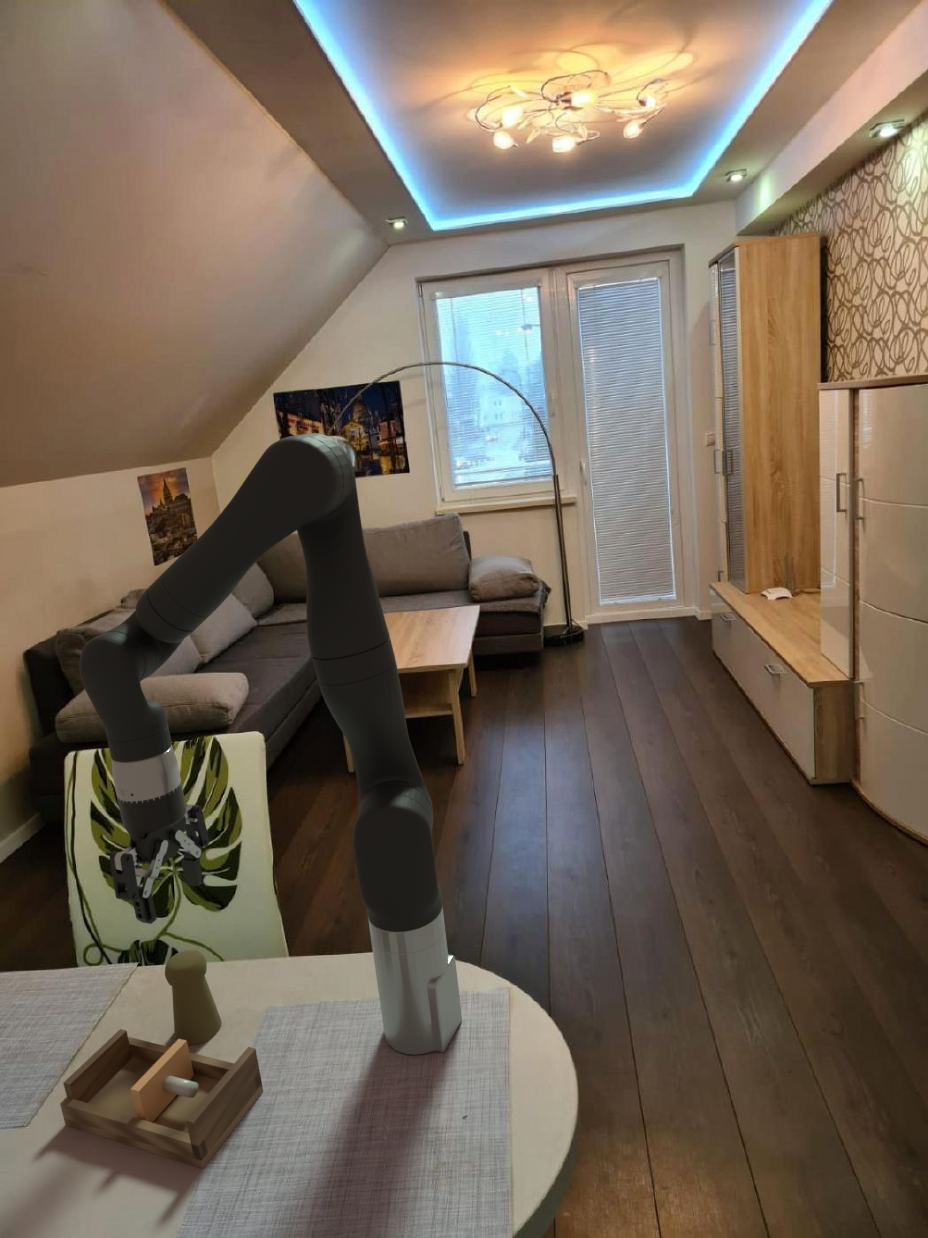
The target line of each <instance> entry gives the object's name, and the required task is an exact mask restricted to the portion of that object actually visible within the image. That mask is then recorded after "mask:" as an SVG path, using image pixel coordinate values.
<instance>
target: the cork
mask: <svg viewBox="0 0 928 1238" xmlns="http://www.w3.org/2000/svg"><path fill="white" fill-rule="evenodd" d="M207 965H208V963H207V959H206V957H205V956H204V954H203V953H202V952H200V951H199V950H197V949H187V950H186V949H185V950H183V951H182V950H181V951H180V952H177V953H176V954H174V955H173V956H171V957H170V958H169V959H168V960H167V963H166V964H165V967H164V976H165V979H166V981H167V983H168V985H170V986H171V989H172V990H171V991H172V992H171V993H172V1011H173V1012H172V1013H173V1028H174V1029H173V1030H174V1040H175V1042H176V1041H177V1040H178V1039H182V1040H186V1041H187V1044H188V1047H189V1046H191V1047H192V1046H193V1047H194V1046H198V1045H201V1044H203V1043H205V1042H208V1041H210V1040H211V1039H212V1038H213V1037H215V1036H216V1034H218V1033H219V1032H220V1029H221V1028H222V1018H221V1016H220V1013H219V1011H218V1007H217V1005H216V1002H215V1000H214V997H213V994H212V991H211V989H210V986H209V984H208V983H209V982H208V980H207V978H206V976H205V975H206V974H207V967H208V966H207Z"/></svg>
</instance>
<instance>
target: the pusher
mask: <svg viewBox="0 0 928 1238" xmlns="http://www.w3.org/2000/svg"><path fill="white" fill-rule="evenodd" d="M169 1047H170V1048H169V1049H168V1050H167V1051H166V1053H165V1054H164V1055H163V1056H162V1057H161V1058H160V1059H159V1060H158V1061H157V1062H156V1063H155V1064H154V1065H153V1066H152V1067H151V1068H150V1069H149V1070H148V1071H147V1072H146V1073H145V1074H144V1075H143V1076H142V1077H141V1079H140V1080H139V1081H138V1082H137V1083H136V1084H135V1085H134V1086H133V1087H132V1088H131V1094H132V1098H133V1102H134V1107H135V1111H136V1115H137V1118H138V1119H142V1120H145V1121H148V1122H153V1121H154V1120H155V1119H156V1118H157V1117H158V1116H159V1114H160V1113H161V1112H162V1111H163V1110H164V1109H165V1108H166V1107H167V1105H168V1104H169V1103H170V1102H171V1101H172V1100H173V1099H174V1098H175V1096H176V1095H177V1094H178V1095H182V1096H185V1097H189V1098H193V1097H195V1095H196V1094H197V1092H198V1083H196V1082H193V1081H190V1080H191V1078H192V1077H193V1076H194V1073H193V1068H192V1063H191V1058H190V1054H189V1052H190V1049H189V1046H188V1044H187V1041H186V1040H182V1039H178V1040H177V1041H176V1040H175V1042H174V1043H173V1044H172V1045H171V1046H169Z"/></svg>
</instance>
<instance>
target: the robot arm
mask: <svg viewBox="0 0 928 1238" xmlns="http://www.w3.org/2000/svg"><path fill="white" fill-rule="evenodd" d="M356 480H357V479H356V474H355V469H354V465H353V463H352V461H351V458H350V456H349V454H348V452H347V451H346V450H345V448H344V447H343V446H342V445H341V444H340V443H339V442H338V441H336V440H335V439H333V437H330V436H329V435H328V436H327V435H326V434H322V433H316V432H311V433H310V432H309V433H302V434H297V435H291V436H286V437H283V438H280V439H279V440H276V441H275V442H273V443H271V444H270V445H269V446H268V447H267V448H266V449H265V451H264V452H263V453H262V455H261V456H260V457H259V459H258V461H257V462H256V463H255V465H254V467H253V468H252V469H251V471H250V472H249V474H248V475H247V477H246V478H245V480H244V481H243V482H242V484H241V486H239V488H238V489H237V491H236V493H235V494H234V496H233V497H232V498H231V500H229V502H228V503H227V505H226V506H225V508H224V509H223V510H222V511H221V513H220V514H219V515H218V516H217V518H216V519H215V520H214V521H213V522H212V523H211V525H210V526H208V528H207V529H206V530H204V532H203V533H202V534H200V536H199V537H197V539H196V540H195V541H194V542H193V543H192V544H190V546H188V548H187V549H186V550H185V551H184V552H183V553H181V555H180V556H179V557H177V559H175V561H174V562H172V563H171V565H169V566H168V567H167V569H165V570H164V571H163V572H162V573H161V574H160V575H159V576H158V578H157V579H155V580H154V582H152V584H150V586H148V587H147V588H146V590H145V591H144V592H143V593H142V594H141V596H140V597H139V598H138V600H137V603H136V606H135V610H134V611H133V613H131V614H130V615H129V617H127V618H126V619H125V620H124V621H123V622H121V623H120V624H119V625H116V627H113V628H112V629H110V630H107V631H105V632H103V633H101V634H98V635H97V636H95V637H92V638H91V639H90V640H89V641H88V642H86V644H85V645H84V647H83V648H82V650H81V652H80V655H79V662H78V663H79V666H78V668H79V669H78V671H79V675H80V679H81V680H80V681H81V683H82V686H83V687H84V690H85V692H86V694H87V696H88V697H89V700H90V702H91V704H92V706H93V708H94V711H95V712H96V714H97V716H98V717H99V719H100V721H101V722H102V724H103V726H104V729H105V733H106V735H105V736H106V740H107V743H108V749H109V754H110V759H111V771H112V773H111V774H112V779H113V785H114V789H115V794H116V798H117V803H118V807H119V814H120V819H121V821H122V822H121V823H122V826H123V828H124V830H126V832H127V833H128V835H129V844H128V847H126V848H125V849H124V850H122V851H115V850H114V851H112V852H110V854H109V863H110V869H111V875H112V881H113V888H114V893H115V894H114V895H115V898H116V899H117V900H121V901H128V902H132V906H133V909H134V910H133V911H134V913H135V918H136V920H137V921H140V923H143V924H150V925H152V924H153V923H154V922H155V921H157V914H156V908H155V904H154V899H153V894H151V892H152V888H153V884H154V881H155V879H157V878H158V876H159V873H160V871H161V867H162V866H164V865H165V864H166V863H168V861H169V859H172V858H174V857H176V856H177V855H178V854H179V855H180V856H182V858H180V862H181V867H182V872H183V877H184V882H185V884H186V885H188V886H192V887H199V886H200V885H201V884H202V883H203V879H202V878H203V871H202V867H201V866H202V865H201V860H200V857H201V855H202V850H203V849H204V848H206V847H209V844H210V838H209V833H208V829H207V825H206V820H205V817H204V816H205V815H204V812H203V807H202V806H201V805H196V804H187V803H186V800H185V796H184V789H183V784H182V779H181V774H180V769H179V768H180V767H179V763H178V758H177V756H176V753H175V751H174V748H173V744H172V739H171V738H172V737H171V734H170V733H171V732H170V728H169V722H168V718H167V713H166V711H165V708H164V706H163V705H162V703H160V702H159V701H157V700H155V699H151V698H150V699H149V698H146V696H145V694H144V691H143V688H142V684H141V682H142V681H143V680H146V679H147V678H149V677H150V676H152V675H153V674H154V673H155V672H156V671H158V670H159V669H160V668H161V667H162V666H163V665H164V664H165V663H166V662H167V661H168V660H169V659H170V658H171V657H172V655H173V654H174V653H175V652H176V651H177V649H178V648H179V647H180V645H181V644H182V643H183V641H184V640H185V639H186V638H187V637H189V636H190V635H191V634H192V633H193V632H194V631H195V630H196V629H198V628H199V627H200V625H202V624H203V623H204V622H205V621H206V620H207V619H208V618H209V617H210V616H211V615H213V613H214V612H215V611H216V610H217V609H218V608H219V607H220V606H221V605H222V604H223V603H224V601H226V600H227V598H228V597H229V596H230V595H231V593H232V592H233V591H234V589H236V587H237V586H238V584H239V583H241V581H242V579H243V578H244V576H245V575H246V574H247V573H248V571H250V570H251V568H252V567H253V566H254V565H255V564H256V562H258V561H259V560H260V559H261V558H262V557H263V556H264V555H265V554H266V553H268V551H270V550H271V549H272V548H273V547H275V546H276V545H277V544H279V543H280V542H281V541H283V540H284V539H285V538H287V537H289V536H291V535H292V534H293V533H295V532H296V533H297V534H298V535H297V536H298V538H299V542H300V546H301V549H302V552H303V557H304V563H305V564H304V565H305V572H306V609H305V610H306V631H307V632H306V633H307V641H308V648H309V652H310V655H311V660H312V663H313V667H314V672H315V675H316V679H317V683H318V686H319V688H320V692H321V694H322V697H323V701H324V702H325V704H326V706H327V708H328V710H329V712H330V714H331V715H332V718H333V719H334V720H335V722H336V725H337V726H338V728H339V729H340V730H341V733H342V734H343V735H344V737H345V739H346V741H347V744H348V746H349V749H350V752H351V756H352V761H353V765H354V769H355V774H356V775H355V776H356V781H357V788H358V796H359V805H358V806H359V807H358V812H357V814H356V819H355V824H354V827H353V831H352V845H353V852H354V853H353V855H354V860H355V861H354V862H355V866H356V873H357V878H358V884H359V890H360V896H361V900H362V902H363V904H364V906H365V908H366V912H367V919H368V925H369V933H370V942H371V949H372V953H373V954H372V956H373V961H374V962H373V963H374V968H375V969H374V970H375V977H376V983H377V991H378V997H379V1004H380V1011H381V1017H382V1018H381V1020H382V1025H383V1032H384V1033H383V1034H384V1038H385V1041H386V1043H387V1044H388V1045H389V1046H390V1048H392V1049H394V1050H395V1051H396V1052H400V1054H401V1053H402V1054H406V1055H416V1056H417V1055H422V1054H427V1053H431V1052H441V1053H444V1052H445V1051H446V1049H447V1048H448V1045H449V1044H450V1043H451V1040H452V1038H453V1036H454V1035H455V1033H456V1031H457V1029H458V1028H459V1026H460V1023H461V1022H462V1020H463V1016H462V1006H461V997H460V996H461V995H460V988H459V980H458V971H457V963H456V956H454V954H449V951H448V944H447V934H446V925H445V917H444V909H443V899H442V898H443V897H442V889H441V886H440V883H439V882H438V876H437V875H438V873H437V868H436V861H435V859H436V858H435V851H434V850H435V849H434V843H433V842H434V840H433V828H434V827H433V825H434V808H433V802H432V800H431V799H432V798H431V796H430V793H429V791H428V788H427V785H426V784H425V781H424V778H423V776H422V773H421V770H420V767H419V764H418V761H417V758H416V755H415V753H414V749H413V747H412V743H411V740H410V736H409V731H408V726H407V718H406V712H405V711H406V710H405V704H404V696H403V691H402V687H401V680H400V677H399V671H398V665H397V661H396V656H395V652H394V649H393V644H392V639H391V635H390V631H389V629H388V626H387V623H386V618H385V615H384V611H383V607H382V603H381V599H380V594H379V591H378V588H377V587H378V586H377V583H376V581H375V578H374V574H373V571H372V567H371V565H370V561H369V558H368V554H367V548H366V545H365V539H364V535H363V534H364V533H363V526H362V525H363V524H362V519H361V512H360V510H361V509H360V504H359V496H358V488H357V482H356ZM185 833H186V834H185ZM197 835H198V836H197ZM143 864H144V865H147V866H149V869H143V867H142V866H143ZM142 878H143V881H142ZM141 881H142V884H141ZM140 884H141V886H140Z"/></svg>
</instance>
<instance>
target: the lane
mask: <svg viewBox="0 0 928 1238" xmlns="http://www.w3.org/2000/svg"><path fill="white" fill-rule="evenodd" d="M170 1047H171V1046H167V1045H162V1044H158V1043H155V1042H151V1041H146V1040H143V1039H139V1038H135V1037H132V1036H129V1035H128V1031H127V1029H126V1030H125V1029H121V1028H120V1029H119V1030H118V1031H117V1032H116V1033H114V1034H113V1035H112V1036H111V1037H110V1038H109V1039H108V1040H107V1041H106V1042H105V1043H103V1045H102V1046H101V1047H99V1048H98V1050H96V1051H95V1052H94V1053H93V1054H92V1055H91V1056H90V1057H88V1059H87V1060H86V1061H84V1063H83V1064H82V1065H80V1067H78V1068H77V1069H76V1070H75V1071H74V1072H72V1074H70V1076H68V1078H66V1079H65V1080H64V1081H63V1087H64V1091H65V1096H66V1097H65V1098H64V1099H63V1100H62V1101H61V1102H60V1103H59V1105H60V1109H61V1113H62V1116H63V1121H64V1124H65V1126H68V1127H71V1128H73V1129H77V1130H80V1131H84V1132H87V1133H89V1134H93V1135H96V1136H99V1137H102V1138H105V1139H108V1140H112V1141H115V1142H119V1143H121V1144H124V1145H127V1146H131V1147H134V1148H137V1149H140V1150H143V1151H145V1152H149V1153H151V1154H152V1153H153V1154H155V1155H158V1156H162V1157H165V1158H168V1159H172V1160H175V1161H178V1162H180V1163H184V1164H187V1165H190V1166H194V1167H197V1168H199V1169H204V1168H205V1167H206V1166H207V1165H208V1163H209V1162H210V1161H211V1159H212V1158H213V1157H214V1156H215V1154H216V1153H217V1152H218V1151H219V1150H220V1148H221V1147H222V1145H223V1144H224V1142H225V1141H226V1140H227V1138H228V1137H229V1136H230V1134H232V1132H233V1131H234V1130H235V1128H236V1127H237V1126H238V1124H239V1123H240V1122H241V1121H242V1119H244V1117H245V1116H246V1114H247V1113H248V1112H249V1110H250V1109H251V1107H252V1106H253V1105H254V1103H255V1102H256V1101H257V1100H258V1098H259V1097H260V1095H262V1093H264V1087H263V1083H262V1081H263V1080H262V1076H261V1072H260V1067H259V1060H258V1055H257V1050H256V1048H255V1047H251V1046H247V1048H246V1049H245V1050H244V1051H243V1052H242V1053H241V1055H240V1056H239V1057H238V1058H237V1060H236V1061H235V1062H231V1061H230V1062H229V1061H225V1060H222V1059H218V1058H214V1057H210V1056H206V1055H202V1054H198V1053H193V1052H192V1051H189V1054H190V1058H191V1063H192V1068H193V1073H194V1076H193V1077H192V1078H191V1080H190V1081H193V1082H196V1083H198V1092H197V1094H196V1095H195V1097H193V1098H189V1097H185V1096H182V1095H178V1094H177V1095H176V1096H175V1098H174V1099H173V1100H172V1101H171V1102H170V1103H169V1104H168V1105H167V1107H166V1108H165V1109H164V1110H163V1111H162V1112H161V1113H160V1114H159V1116H158V1117H157V1118H156V1119H155V1120H154V1121H153V1122H148V1121H145V1120H142V1119H138V1118H137V1115H136V1111H135V1107H134V1102H133V1098H132V1094H131V1088H132V1087H133V1086H134V1085H135V1084H136V1083H137V1082H138V1081H139V1080H140V1079H141V1077H142V1076H143V1075H144V1074H145V1073H146V1072H147V1071H148V1070H149V1069H150V1068H151V1067H152V1066H153V1065H154V1064H155V1063H156V1062H157V1061H158V1060H159V1059H160V1058H161V1057H162V1056H163V1055H164V1054H165V1053H166V1051H167V1050H168V1049H169V1048H170Z"/></svg>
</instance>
